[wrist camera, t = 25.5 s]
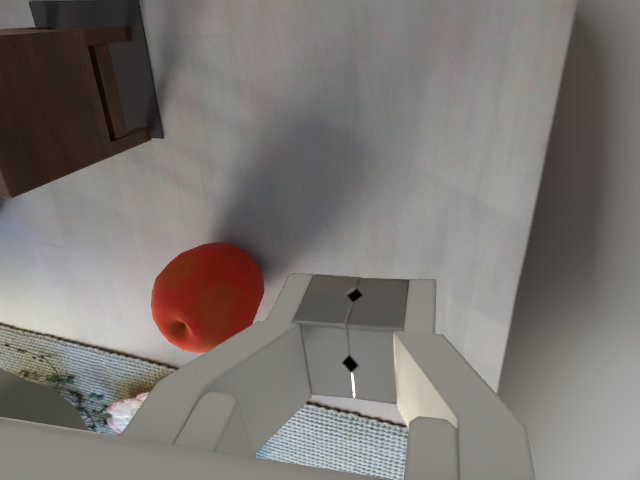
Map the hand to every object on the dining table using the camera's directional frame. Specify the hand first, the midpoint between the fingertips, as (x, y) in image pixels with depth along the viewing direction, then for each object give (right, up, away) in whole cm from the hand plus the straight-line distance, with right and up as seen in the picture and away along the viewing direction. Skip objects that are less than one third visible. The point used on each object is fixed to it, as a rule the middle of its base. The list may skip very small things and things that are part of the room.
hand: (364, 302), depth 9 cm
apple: (-10, -2, +39) cm, 41 cm away
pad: (-22, +17, +33) cm, 44 cm away
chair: (-22, +16, +34) cm, 43 cm away
